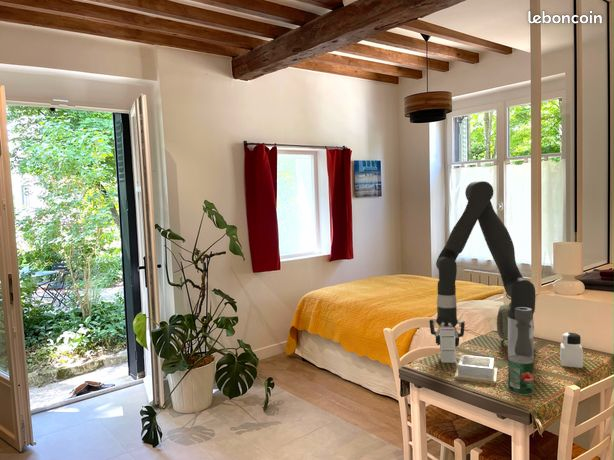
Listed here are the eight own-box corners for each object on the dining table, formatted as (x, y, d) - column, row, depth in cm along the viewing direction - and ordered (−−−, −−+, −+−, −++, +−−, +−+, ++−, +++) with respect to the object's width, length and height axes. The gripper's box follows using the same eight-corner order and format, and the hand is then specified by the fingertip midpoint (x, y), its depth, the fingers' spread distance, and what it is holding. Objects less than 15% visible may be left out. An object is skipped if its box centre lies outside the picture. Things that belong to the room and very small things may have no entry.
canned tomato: (509, 384, 162) (509, 353, 161) (534, 388, 158) (534, 356, 157) (506, 392, 155) (506, 360, 155) (532, 397, 151) (532, 364, 151)
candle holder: (532, 380, 165) (531, 311, 163) (513, 377, 168) (512, 309, 166) (534, 374, 170) (533, 307, 168) (515, 371, 173) (515, 306, 172)
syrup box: (456, 363, 185) (455, 327, 184) (440, 362, 186) (440, 327, 185) (454, 358, 190) (453, 323, 189) (439, 357, 191) (439, 323, 190)
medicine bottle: (581, 362, 181) (581, 332, 180) (583, 368, 174) (583, 337, 174) (560, 360, 184) (560, 330, 183) (561, 366, 177) (561, 335, 177)
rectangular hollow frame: (497, 370, 175) (497, 357, 175) (495, 384, 163) (495, 370, 162) (459, 365, 181) (458, 353, 181) (454, 378, 169) (454, 365, 168)
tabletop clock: (533, 346, 202) (533, 289, 201) (533, 352, 194) (533, 293, 192) (497, 342, 208) (497, 288, 207) (496, 348, 200) (496, 291, 199)
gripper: (466, 304, 187) (466, 344, 188) (430, 302, 193) (430, 341, 194) (464, 308, 180) (465, 350, 181) (427, 306, 186) (427, 346, 187)
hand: (447, 345), depth 188 cm, fingers closed on syrup box, 6 cm apart
